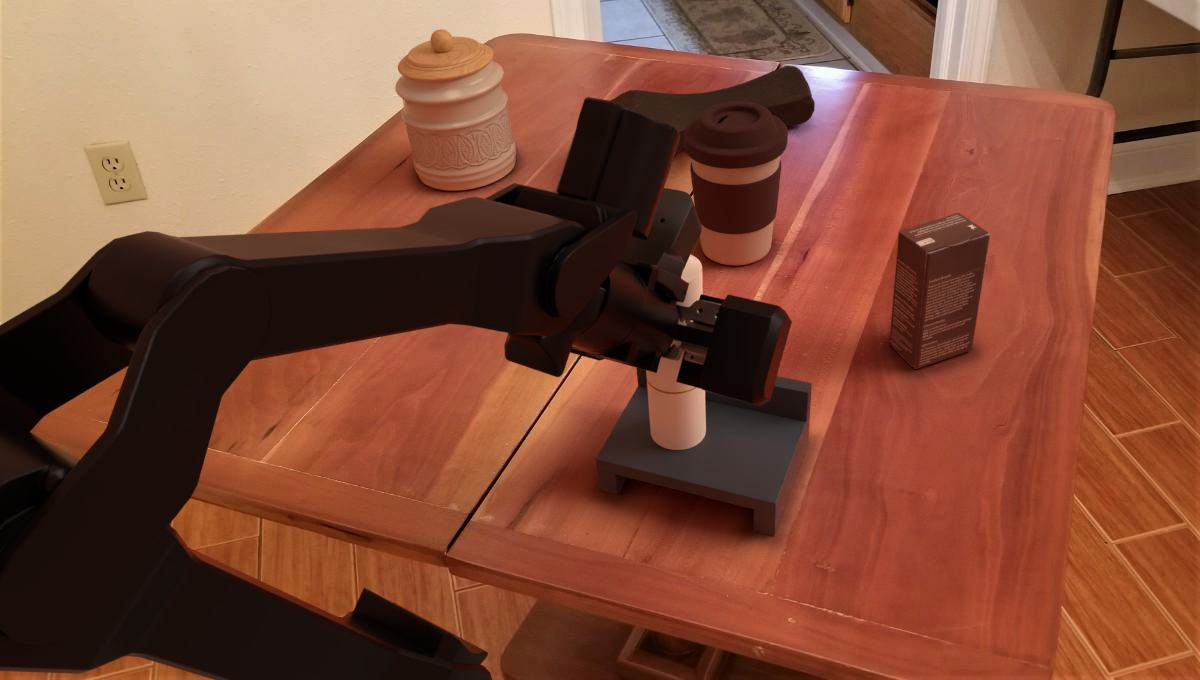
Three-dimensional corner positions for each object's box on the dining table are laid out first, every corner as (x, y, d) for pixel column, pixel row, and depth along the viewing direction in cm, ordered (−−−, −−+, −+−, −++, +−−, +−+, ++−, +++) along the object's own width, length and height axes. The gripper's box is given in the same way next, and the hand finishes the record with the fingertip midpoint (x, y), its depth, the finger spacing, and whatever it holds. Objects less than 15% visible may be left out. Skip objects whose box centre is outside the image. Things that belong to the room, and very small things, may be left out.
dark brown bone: (607, 203, 112) (799, 163, 122) (629, 146, 103) (834, 108, 113) (574, 133, 116) (763, 100, 126) (592, 73, 107) (794, 42, 117)
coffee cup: (802, 257, 96) (808, 121, 87) (716, 285, 93) (713, 148, 84) (753, 214, 103) (754, 85, 94) (672, 239, 101) (665, 109, 92)
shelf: (774, 536, 68) (776, 474, 64) (599, 490, 73) (590, 430, 69) (808, 443, 75) (812, 382, 71) (645, 407, 80) (640, 348, 76)
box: (941, 324, 85) (959, 209, 78) (972, 352, 82) (995, 235, 74) (883, 343, 84) (896, 227, 77) (913, 372, 81) (930, 254, 73)
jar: (513, 189, 113) (488, 46, 102) (407, 197, 114) (372, 56, 103) (522, 140, 123) (501, 6, 112) (425, 148, 124) (395, 15, 113)
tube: (678, 458, 70) (670, 293, 61) (639, 431, 73) (625, 269, 64) (717, 429, 72) (715, 266, 63) (678, 404, 75) (670, 244, 66)
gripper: (786, 198, 51) (836, 263, 65) (502, 149, 59) (601, 216, 73) (731, 395, 51) (793, 417, 65) (453, 318, 59) (562, 353, 73)
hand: (682, 343), depth 69 cm, fingers closed on tube, 4 cm apart
